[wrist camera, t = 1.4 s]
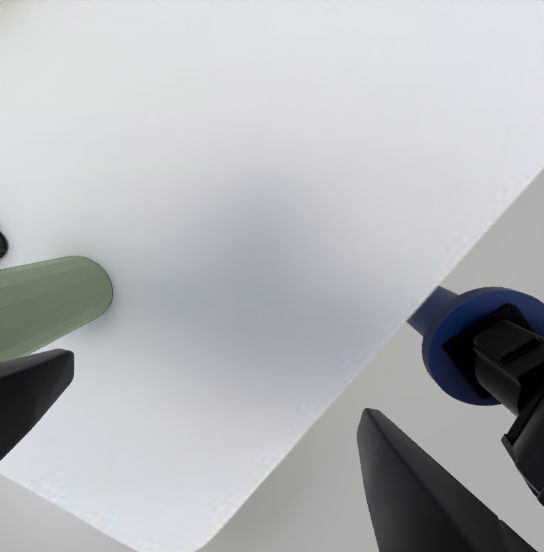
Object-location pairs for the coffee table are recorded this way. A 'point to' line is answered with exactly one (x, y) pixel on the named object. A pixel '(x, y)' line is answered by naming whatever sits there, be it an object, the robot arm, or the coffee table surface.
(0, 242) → the phone
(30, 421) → the robot arm
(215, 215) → the coffee table surface
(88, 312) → the vase
